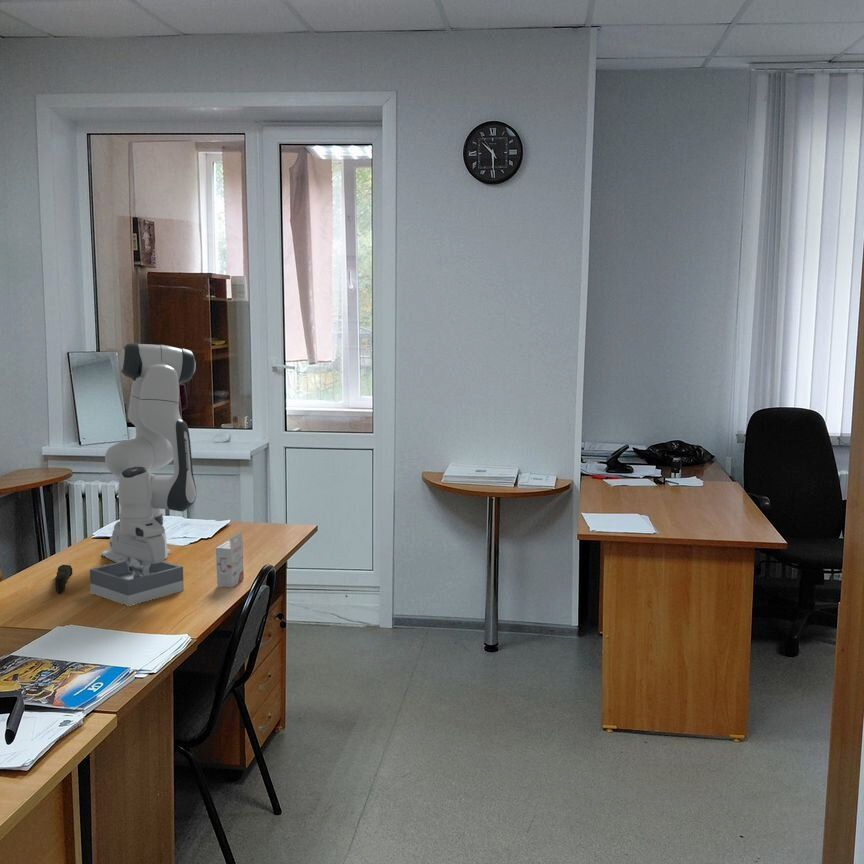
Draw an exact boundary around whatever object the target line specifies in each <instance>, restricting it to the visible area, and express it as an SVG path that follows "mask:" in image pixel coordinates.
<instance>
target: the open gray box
mask: <svg viewBox="0 0 864 864" xmlns="http://www.w3.org/2000/svg"><path fill="white" fill-rule="evenodd" d="M89 583H90V584H89V586H90V594H91V593H92V595H94V594H96V595H95V596H97V595H99V596H98V597H100V596H102V597H104V598H103V599H105V598H107V599H106V600H108V599H110V600H109V601H111V600H113V601H112V602H114V601H116V602H115V603H117V602H119V603H118V604H120V603H122V604H121V605H123V604H125V605H124V606H126V605H128V606H129V607H131V606H130V605H132V606H134V605H133V604H136V605H139V604H142V603H141V602H143V603H146V602H149V600H150V601H152V599H153V600H155V599H156V600H157V599H159V597H160V598H162V597H167V596H169V595H172V594H173V593H174V594H176V593H180V592H183V590H185V589H184V588H185V587H184V583H185V582H184V566H182V565H178V564H174V563H172V562H168V561H165V560H164V561H163V562H160V563H156V564H152V563H151V566H150V568H149V575H145V576H141V577H138V578H134V579H133V573H132V572H129V571H128V566H127V563H126V561H122V562H117V563H115V562H114V563H110V564H106V565H102V566H97V567H93V568H90V569H89ZM102 597H101V598H102ZM145 601H146V602H145ZM138 603H139V604H138ZM128 606H127V607H128Z"/></svg>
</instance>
